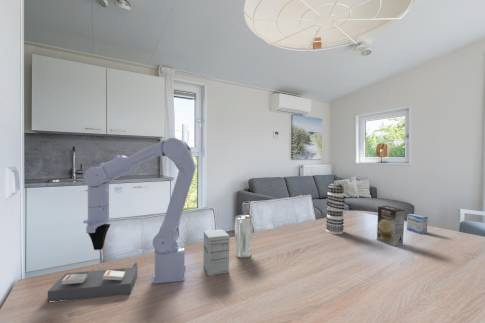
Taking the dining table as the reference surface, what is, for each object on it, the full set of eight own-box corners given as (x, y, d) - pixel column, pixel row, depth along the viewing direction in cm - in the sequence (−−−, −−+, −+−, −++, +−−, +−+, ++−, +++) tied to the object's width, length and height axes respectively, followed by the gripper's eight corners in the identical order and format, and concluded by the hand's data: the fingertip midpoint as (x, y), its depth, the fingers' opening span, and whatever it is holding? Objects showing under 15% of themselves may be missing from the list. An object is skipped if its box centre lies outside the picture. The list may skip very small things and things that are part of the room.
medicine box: (406, 230, 133) (407, 214, 133) (411, 229, 135) (412, 213, 135) (422, 234, 126) (422, 217, 126) (427, 233, 128) (427, 216, 128)
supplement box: (202, 266, 86) (203, 230, 86) (223, 263, 89) (223, 228, 88) (207, 276, 79) (207, 237, 79) (229, 272, 82) (230, 235, 81)
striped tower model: (321, 230, 131) (322, 183, 130) (334, 228, 134) (335, 182, 134) (334, 235, 122) (335, 185, 122) (348, 233, 126) (349, 184, 125)
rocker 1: (87, 276, 70) (87, 273, 70) (82, 282, 67) (82, 278, 67) (67, 278, 69) (67, 274, 69) (61, 284, 66) (61, 280, 66)
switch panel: (141, 264, 86) (141, 255, 86) (130, 293, 68) (130, 281, 68) (77, 269, 82) (77, 259, 82) (47, 302, 64) (47, 289, 64)
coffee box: (375, 239, 117) (377, 206, 116) (385, 238, 119) (386, 205, 119) (394, 246, 108) (395, 210, 108) (404, 244, 111) (405, 209, 110)
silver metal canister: (241, 250, 101) (242, 213, 101) (255, 254, 97) (256, 216, 96) (230, 255, 96) (231, 217, 96) (244, 260, 92) (245, 220, 91)
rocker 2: (124, 274, 72) (125, 271, 72) (121, 280, 69) (122, 276, 69) (106, 273, 71) (106, 269, 71) (102, 279, 68) (103, 275, 68)
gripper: (92, 201, 82) (92, 241, 83) (74, 211, 68) (74, 259, 68) (115, 200, 84) (115, 240, 84) (102, 210, 70) (102, 257, 70)
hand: (98, 249), depth 76 cm, fingers closed
